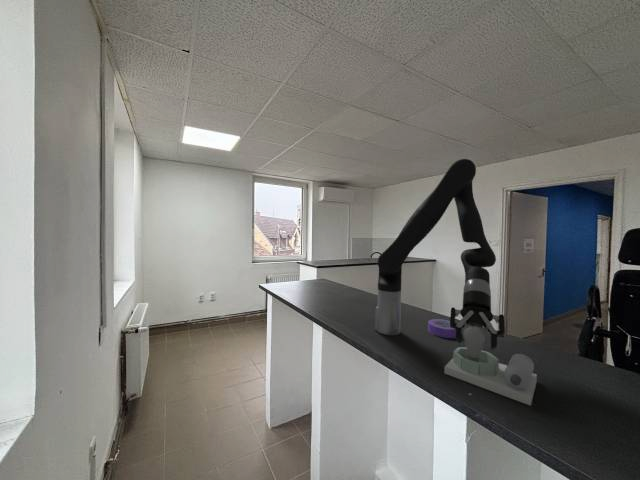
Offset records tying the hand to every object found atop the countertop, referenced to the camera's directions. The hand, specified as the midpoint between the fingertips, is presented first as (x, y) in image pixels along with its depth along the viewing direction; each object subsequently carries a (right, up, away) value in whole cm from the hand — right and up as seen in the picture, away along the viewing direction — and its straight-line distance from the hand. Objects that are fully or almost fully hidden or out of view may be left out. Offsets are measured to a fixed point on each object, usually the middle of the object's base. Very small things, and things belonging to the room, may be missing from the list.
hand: (475, 345), depth 71 cm
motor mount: (+3, -9, -1) cm, 9 cm away
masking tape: (+7, -9, +32) cm, 34 cm away
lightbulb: (+1, -7, +2) cm, 7 cm away
